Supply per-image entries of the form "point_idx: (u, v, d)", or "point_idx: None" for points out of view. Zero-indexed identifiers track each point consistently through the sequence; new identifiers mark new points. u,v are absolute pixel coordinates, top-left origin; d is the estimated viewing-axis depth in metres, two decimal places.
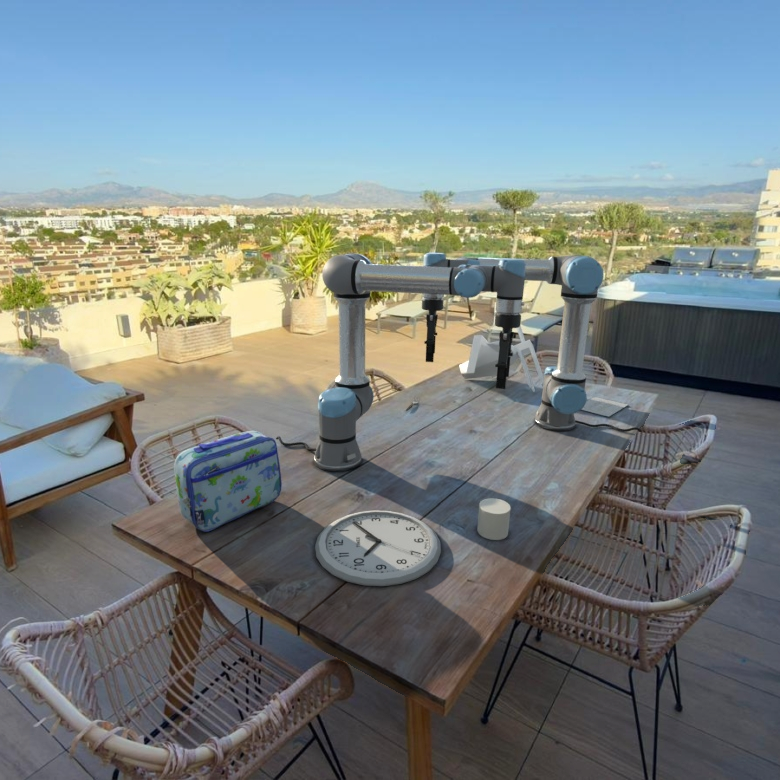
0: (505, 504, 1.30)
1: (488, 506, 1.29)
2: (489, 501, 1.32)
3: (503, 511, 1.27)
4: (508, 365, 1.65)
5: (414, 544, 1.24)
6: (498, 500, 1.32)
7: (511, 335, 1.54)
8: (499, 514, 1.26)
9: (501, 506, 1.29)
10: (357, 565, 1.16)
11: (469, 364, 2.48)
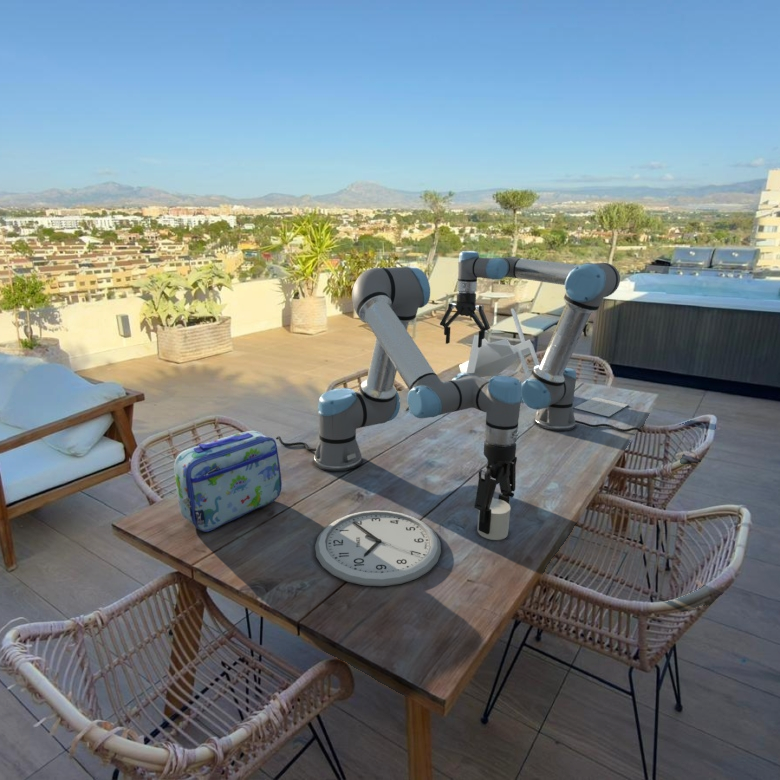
0: (505, 504, 1.30)
1: None
2: None
3: (503, 511, 1.27)
4: None
5: (414, 544, 1.24)
6: (498, 500, 1.32)
7: (499, 469, 1.24)
8: (499, 514, 1.26)
9: (501, 506, 1.29)
10: (357, 565, 1.16)
11: (469, 364, 2.48)
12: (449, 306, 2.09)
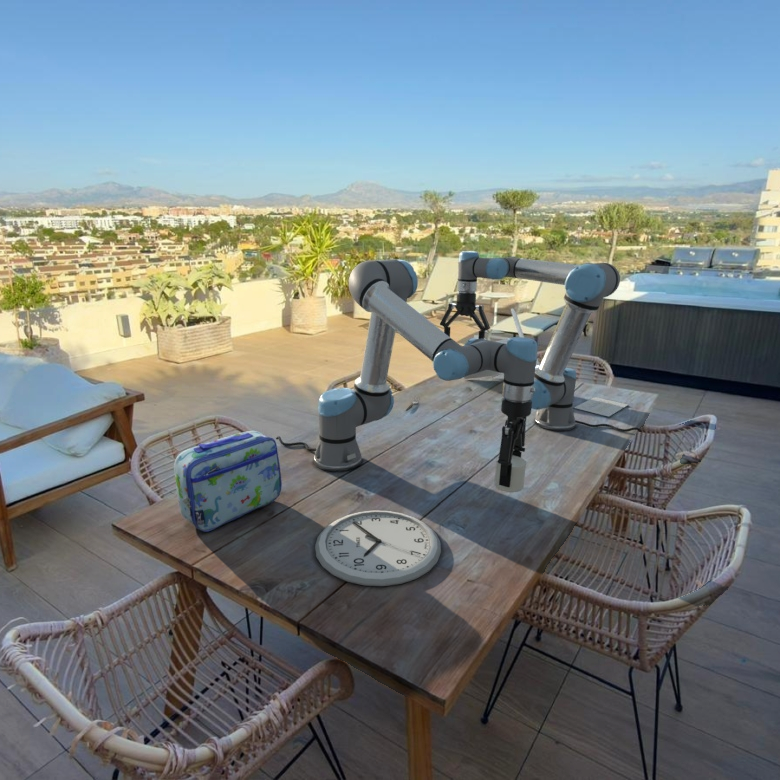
0: (519, 458, 1.40)
1: None
2: None
3: (521, 464, 1.36)
4: None
5: (414, 544, 1.24)
6: None
7: (518, 424, 1.33)
8: (518, 467, 1.35)
9: (517, 460, 1.39)
10: (357, 565, 1.16)
11: None
12: (449, 306, 2.09)
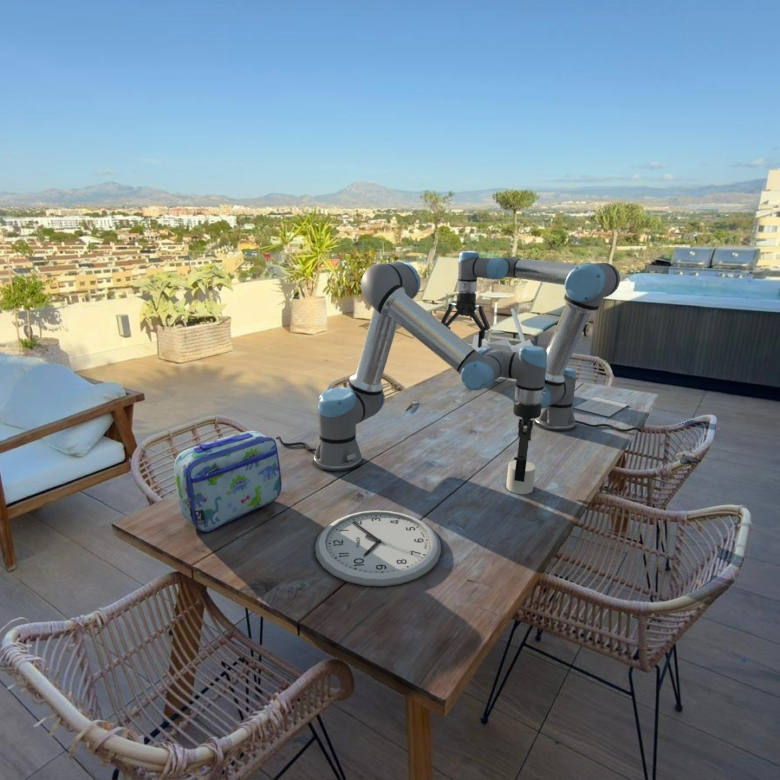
0: (527, 462, 1.54)
1: None
2: (514, 463, 1.54)
3: (532, 468, 1.50)
4: None
5: (414, 544, 1.24)
6: None
7: (531, 425, 1.46)
8: (531, 471, 1.49)
9: (526, 464, 1.53)
10: (357, 565, 1.16)
11: None
12: (449, 306, 2.09)
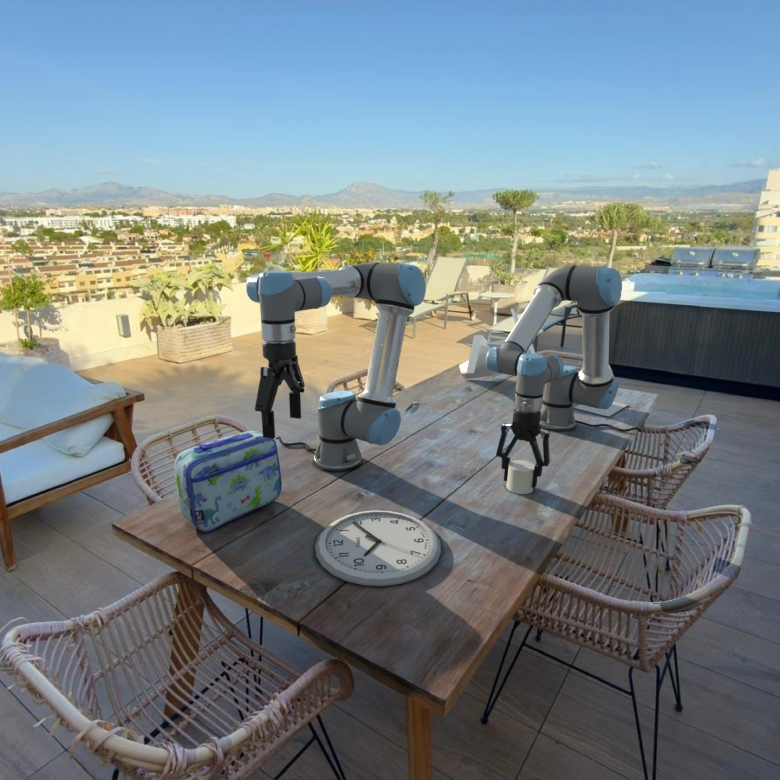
0: (527, 462, 1.54)
1: (518, 466, 1.51)
2: (514, 463, 1.54)
3: (532, 468, 1.50)
4: (298, 404, 1.30)
5: (414, 544, 1.24)
6: (519, 460, 1.55)
7: (282, 369, 1.19)
8: (531, 471, 1.49)
9: (526, 464, 1.53)
10: (357, 565, 1.16)
11: (469, 364, 2.48)
12: (502, 429, 1.50)
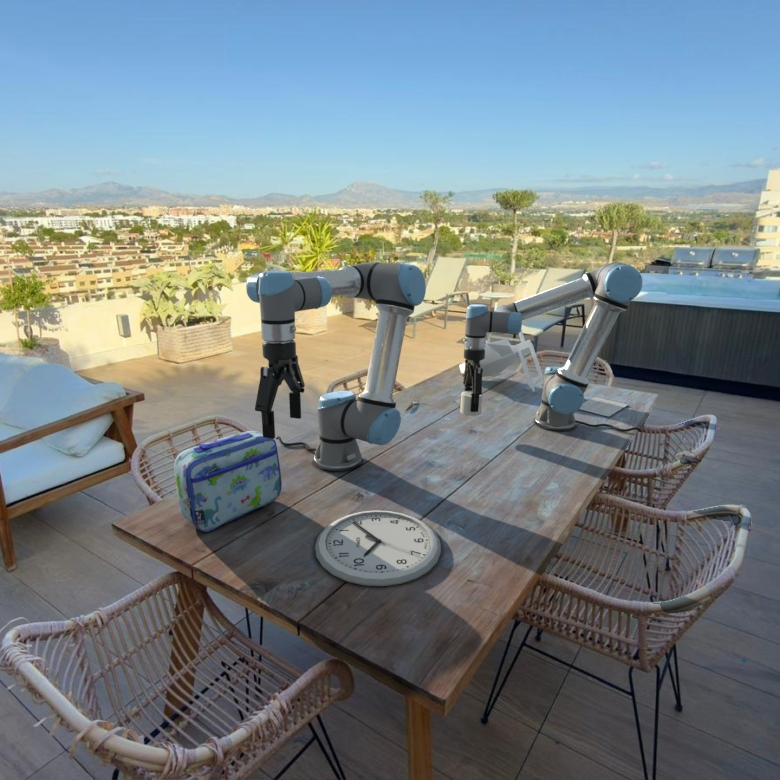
0: None
1: (467, 393, 1.94)
2: (471, 391, 1.96)
3: None
4: (298, 404, 1.30)
5: (414, 544, 1.24)
6: None
7: (282, 369, 1.19)
8: (469, 397, 1.90)
9: None
10: (357, 565, 1.16)
11: None
12: (465, 362, 1.96)
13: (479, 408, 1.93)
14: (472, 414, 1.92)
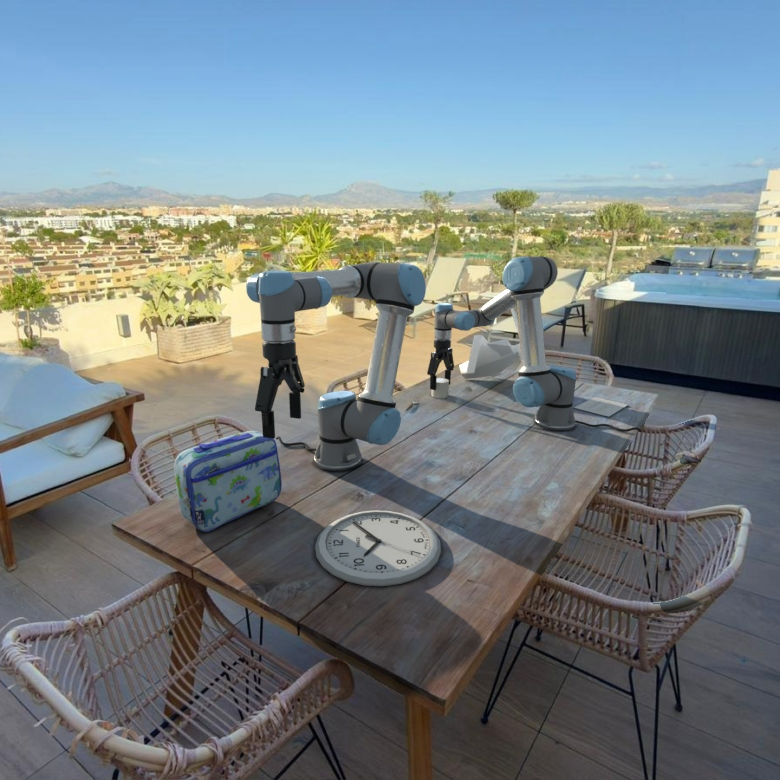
0: (444, 381, 2.33)
1: (438, 379, 2.37)
2: (444, 379, 2.37)
3: None
4: (298, 404, 1.30)
5: (414, 544, 1.24)
6: (447, 380, 2.35)
7: (282, 369, 1.19)
8: None
9: (441, 381, 2.34)
10: (357, 565, 1.16)
11: (469, 364, 2.48)
12: None
13: (440, 393, 2.33)
14: (434, 396, 2.35)
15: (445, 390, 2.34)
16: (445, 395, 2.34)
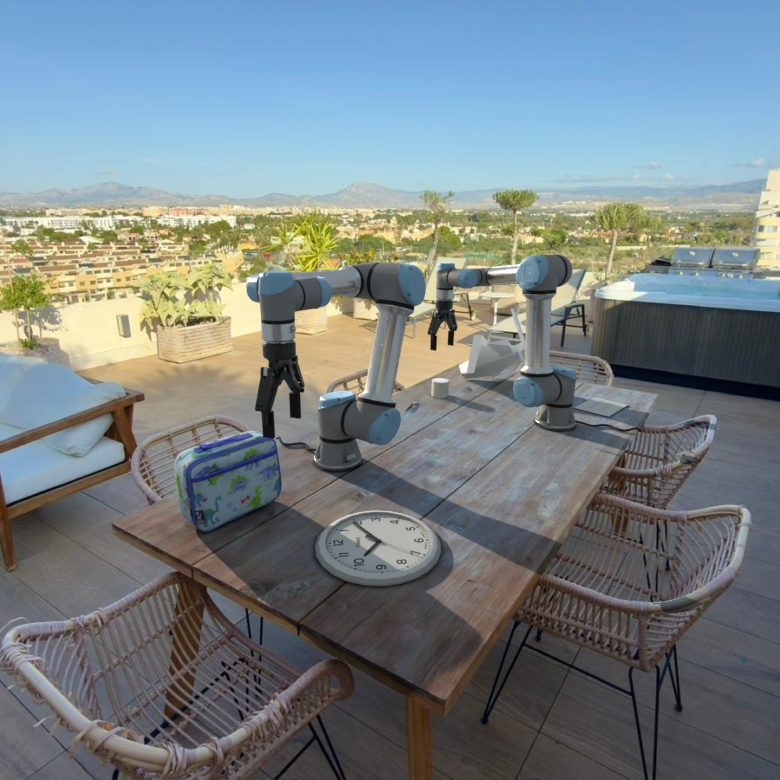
0: (444, 381, 2.33)
1: (438, 379, 2.37)
2: (444, 379, 2.37)
3: (435, 381, 2.33)
4: (298, 404, 1.30)
5: (414, 544, 1.24)
6: (447, 380, 2.35)
7: (282, 369, 1.19)
8: (432, 381, 2.34)
9: (441, 381, 2.34)
10: (357, 565, 1.16)
11: (469, 364, 2.48)
12: None
13: (440, 393, 2.33)
14: (434, 396, 2.35)
15: (445, 390, 2.34)
16: (445, 395, 2.34)
